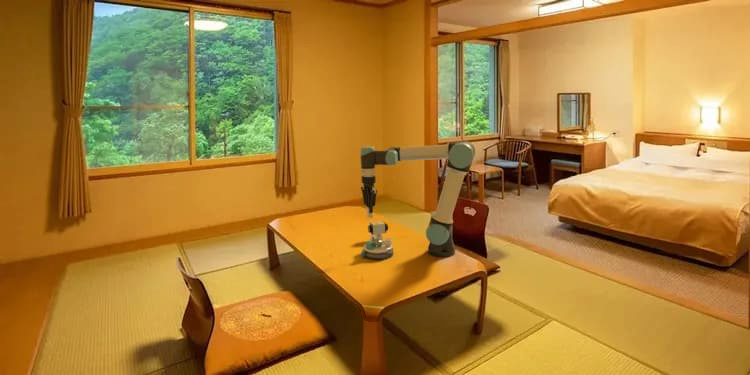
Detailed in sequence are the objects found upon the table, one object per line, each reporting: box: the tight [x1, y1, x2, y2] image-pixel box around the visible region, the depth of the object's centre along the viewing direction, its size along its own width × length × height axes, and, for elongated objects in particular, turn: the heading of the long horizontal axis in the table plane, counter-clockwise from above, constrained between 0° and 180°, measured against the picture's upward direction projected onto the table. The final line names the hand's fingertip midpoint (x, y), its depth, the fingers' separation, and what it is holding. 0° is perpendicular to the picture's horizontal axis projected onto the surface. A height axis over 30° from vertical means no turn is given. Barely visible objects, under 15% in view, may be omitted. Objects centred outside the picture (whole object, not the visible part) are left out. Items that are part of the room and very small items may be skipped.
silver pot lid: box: [360, 247, 394, 261], centre depth 234 cm, size 17×18×4 cm
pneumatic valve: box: [367, 221, 389, 241], centre depth 258 cm, size 6×12×12 cm, turn 106°
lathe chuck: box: [362, 234, 393, 254], centre depth 234 cm, size 16×16×6 cm
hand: (370, 218), depth 230 cm, fingers closed
